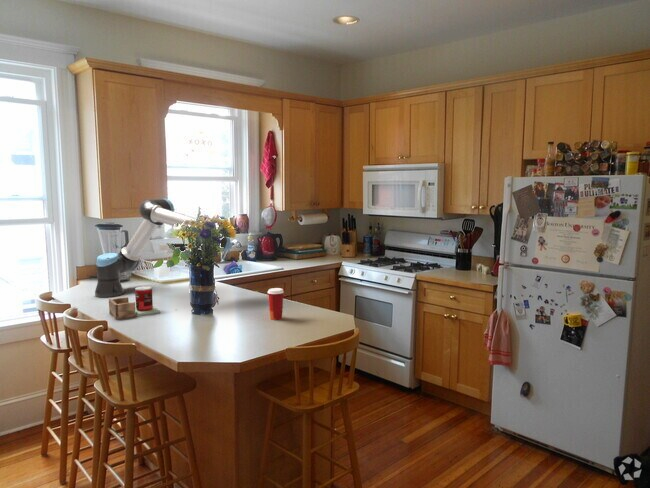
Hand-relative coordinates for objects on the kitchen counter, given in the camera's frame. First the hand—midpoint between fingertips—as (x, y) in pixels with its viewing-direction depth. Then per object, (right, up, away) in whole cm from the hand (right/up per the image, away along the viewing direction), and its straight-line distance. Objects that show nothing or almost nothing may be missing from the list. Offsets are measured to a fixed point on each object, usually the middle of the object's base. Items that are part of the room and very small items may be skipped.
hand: (162, 249), depth 256 cm
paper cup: (+60, -33, -20) cm, 72 cm away
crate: (-11, -32, -10) cm, 35 cm away
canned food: (-7, -30, -8) cm, 32 cm away
